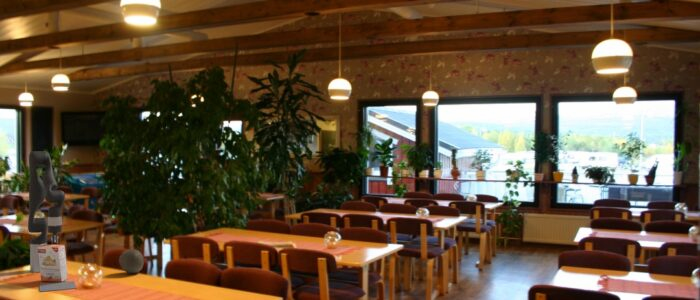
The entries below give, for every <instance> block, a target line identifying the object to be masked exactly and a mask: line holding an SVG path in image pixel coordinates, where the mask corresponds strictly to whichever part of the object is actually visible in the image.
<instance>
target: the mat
mask: <svg viewBox="0 0 700 300" xmlns="http://www.w3.org/2000/svg"><path fill="white" fill-rule="evenodd" d="M76 289H77V287H76V282H75V280H67V281H66V280H65V281H63V282H47V283H45V282H43V283H39V293H44V292H45V293H46V292H55V291H56V292H57V291H66V290H76Z"/></svg>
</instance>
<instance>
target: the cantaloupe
mask: <svg viewBox="0 0 700 300" xmlns="http://www.w3.org/2000/svg"><path fill="white" fill-rule="evenodd" d="M118 263H119V266H120V267H121V269H122V270H123V271H124V272H125V273H128V274H136V273H139V272H140V271H141V270H142V269H143V267H144V255H143V254H142V252H140V251H139V250H138V249H133V248H132V249H128V250H127V249H126V250H124V251H122V253H121V255H119V258H118Z"/></svg>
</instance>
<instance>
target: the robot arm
mask: <svg viewBox="0 0 700 300" xmlns="http://www.w3.org/2000/svg"><path fill="white" fill-rule="evenodd" d="M28 167H29V168H28V169H29V184H28V185H29V186H28V187H29V188H28V189H29V190H28V197H29V198H28V204H29V207H28V218H27V230H28V231H27V232H28V233H30V234H35V233H36V234H37V233H39V235H37V236H35V237H33V238H31V239H30V242H29V243H30V245H29V247H30V250H29V251H30V255H29V257H30V259H29V261H30V262H29V263H30V264H29V271H30V272H31V273H40V264H39V254H38V247H39V246H41V245H44V244H48V233H49V234H52V235H50V239H51V241H50V243H51V245H58V244H59V237H60V236H59V234H60V233H62V232H63V219H62V210H63V205H64V203H65V200H66V199H65V198H66V193H65V192H64V191H63V190H58V183H57V180H56V178H55V175H54V169H53V165H52V159H51V156H50V153H49V152H48V151H43V150H42V151H40V150H39V151H38V150H37V151H30V152H29V155H28ZM37 167H45V170H44V173H43V175H42V178H41V177H40V175H39V173H38V171H37ZM44 201H46V202H47V203H49V204H52V203H56V204H55V205H52V206H50V207H48V210H47V211H48V212H47V213H48V215H47V216H48V217H35V216H36V214H37V211H38V210H39V207H40V206H42V204H43V202H44ZM58 233H59V234H58Z"/></svg>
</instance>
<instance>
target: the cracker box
mask: <svg viewBox="0 0 700 300" xmlns="http://www.w3.org/2000/svg"><path fill="white" fill-rule="evenodd" d="M65 246H66V245H65V244H57V245H52V243H51V244H48V243H47V244H44V245H41V246H39V247H38V254H39V264H40V272H39V273H40V274H39V275H40V281H41V282H50V283H55V282H66V280H67V281H68V279H69V276H68V266H67V255H66V254H67V253H66V247H65Z"/></svg>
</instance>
